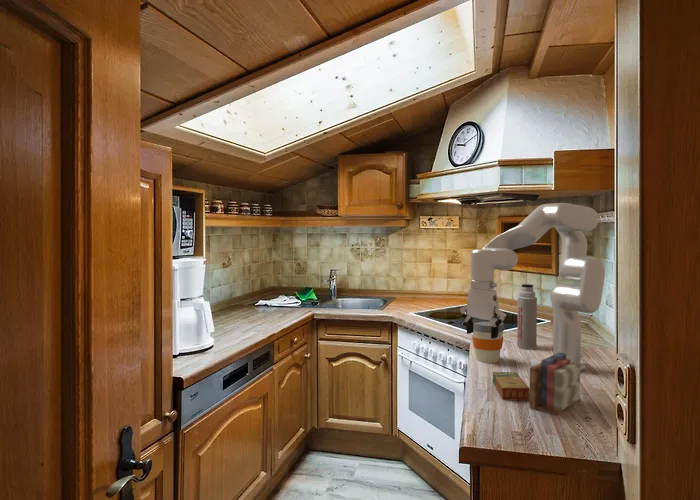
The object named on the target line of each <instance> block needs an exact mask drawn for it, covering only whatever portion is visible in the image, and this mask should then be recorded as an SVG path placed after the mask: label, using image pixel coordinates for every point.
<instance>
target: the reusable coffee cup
mask: <svg viewBox="0 0 700 500" xmlns="http://www.w3.org/2000/svg"><path fill="white" fill-rule="evenodd" d="M472 321H473V333H472V335H471V337H472V344H473V348H474V353H475V360H477V361H478V362H482V363H491V364H492V363H498V362H499V361H500V356H501V350H502V348H503V343H504V342H503V341H504V337H503V335H504V331H505V328H504V322H502V323H501V324H500V326H499V329H498V337H497V338H494V339H492V338H491V327H492V326H493V325H492V324H491V322H490V321H489V320H484V319H474V320H472Z"/></svg>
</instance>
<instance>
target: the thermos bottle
mask: <svg viewBox="0 0 700 500" xmlns="http://www.w3.org/2000/svg"><path fill="white" fill-rule="evenodd" d="M516 306H517V311H516V312H517V313H516V314H517V315H516V316H517V317H516V318H517V327H516V328H517V330H516V335H517V336H516V338H517V339H516V342H517V343H516V344H517V345H516V346H517V348H518V347H519V348H518V349H521V350H531V349H532V350H537V346H538V344H537V335H538V334H537V330H538V329H537V323H538V321H537V320H538V298H537V297H536V292H535V291H534V284H530V283H529V284H528V283H527V284H524V283H523V284H521V289H520V291H519V292H518V296H517V305H516Z"/></svg>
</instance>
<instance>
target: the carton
mask: <svg viewBox="0 0 700 500" xmlns="http://www.w3.org/2000/svg"><path fill="white" fill-rule="evenodd" d="M492 384H493V385H494V387H495V389H496V391H497V393H498V394H499V396H500V398H501V400H512V401H530V387H528V385H527V384H526V383H525V381H524V380H523V379H522V378H521V376H520V375H519V373H517V372H516V371H493V372H492Z"/></svg>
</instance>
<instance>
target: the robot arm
mask: <svg viewBox="0 0 700 500" xmlns="http://www.w3.org/2000/svg"><path fill="white" fill-rule="evenodd" d="M598 224H599V215H598V212H597V211H596V210H595V209H594V208H592V207H590V206H585V205H579V204H573V203H567V202H557V203H556V202H555V203H553V202H552V203H543V204H541V205H538V207H536V208H534V210H533V211H532V212H530V214H528V216H526V217H525V218H524V219H523V220H522V221H521V222H520V223H519V224H518V225H516V226H515V227H512V228H510V229H508V230H506V231H505V232H504V231H503V233H500V234H498V235H497V236H495V237H494V238H492V239H491V240H490V241H489V242H487V244H485V246H483V248H478V249H477V248H476V249H473V250H471V252H470V253H471V254H470V288H469V289H468V294H467V299H466V301H467V302H466V304H467V305H464V306H462V307H460V308H459V311H460V312H461V316H462V318H463V319H464V322H465V324H466V327H465V329H466V334H468V335H469V334H473V321H474V319H477V320H489V321H490V322H491V324H492V325H493V326H492V327H491V338H492V339H494V338H497V337H498V329H499V326H500V324H501V323H504V321H505V319H506V317H507V314H506V313H505V312H503V311H502V310H501V309H500V307H499V306H500V305H499V297H498V292H497V290H496V289H495V288H497V287H498V283H496V282H495V279H494V278H495V270H498V271H499V270H500V271H510V270H512V269H514V268H515V267H516V266H517V264H518V262H519V261H518V260H519V257H518V255H517V253H516V252H515V251H514V250H517V249H521V248H525V247H529V246H533V244H536V242H538V241H539V240H540V239H541V238H542V237H543V236H544V235H545V234H546V233H547V232H548V231H549V230H550V229H552V228H554V229H555V230H556V231H557V233H558V234H559V237H561V252H560V253H561V254H560V258H559V267H558V275H559V276H560V278H562V279H563V280H565V281H570V282H576V283H577V282H579V283H581V285H579V284H578V285H577V284H571V283H561V284H557V285H555V286H554V287H553V288H552V290H551V292H550V303H551V306H552V307H551V308H552V318H553V319H552V321H553V322H552V323H553V324H552V356H553V355H555V354H557V353H564V354H566V359H569V360H570V363H572V362H577V363H580V372H583V371H586V365H585V363H582V362H581V361H582V358H583V357H584V355H583V354H582V321H581V316H580V314H579V313H584V314H593V313H596V311H597V310H598V309H599V308H600V305H601V302H602V297H603V290H604V284H605V277H606V269H605V265H604V263H603V262H602V260H601V259H599V257H595V256H587V252H588V241H587V240H588V239H587V237H586V235H585V233H583V232H589V231H590V232H591V231H592V230H594V229H595V228H596V227H597V226H598Z"/></svg>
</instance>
